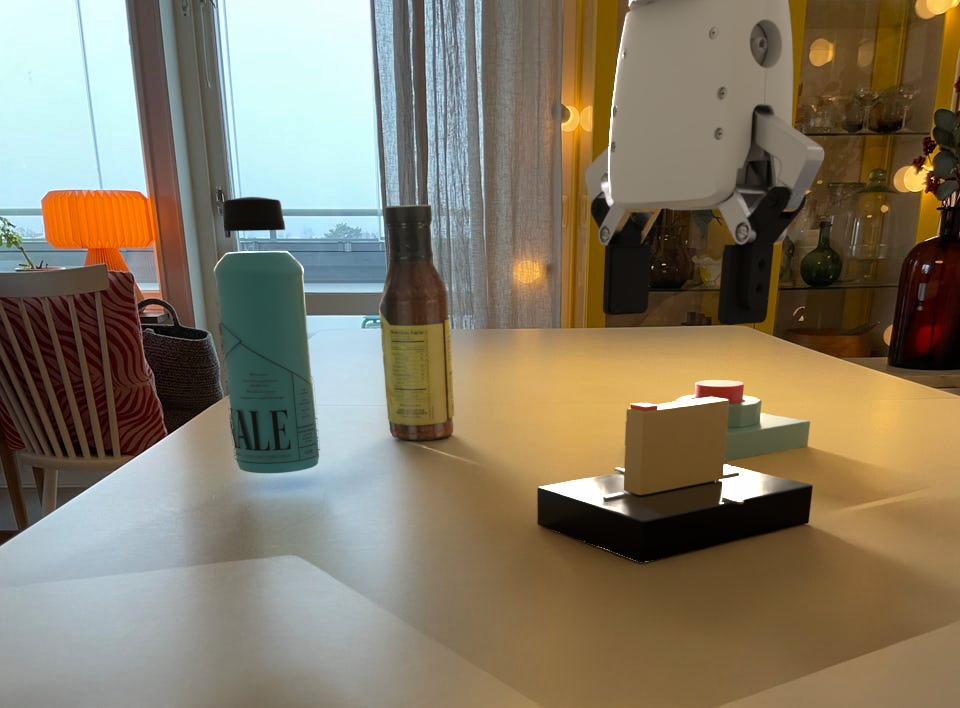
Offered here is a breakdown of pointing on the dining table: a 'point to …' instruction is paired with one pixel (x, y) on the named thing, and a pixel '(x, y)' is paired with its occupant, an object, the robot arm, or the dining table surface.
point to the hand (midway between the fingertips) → (679, 318)
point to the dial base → (673, 512)
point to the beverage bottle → (266, 347)
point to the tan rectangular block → (674, 444)
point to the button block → (759, 430)
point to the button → (720, 390)
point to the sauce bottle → (415, 331)
